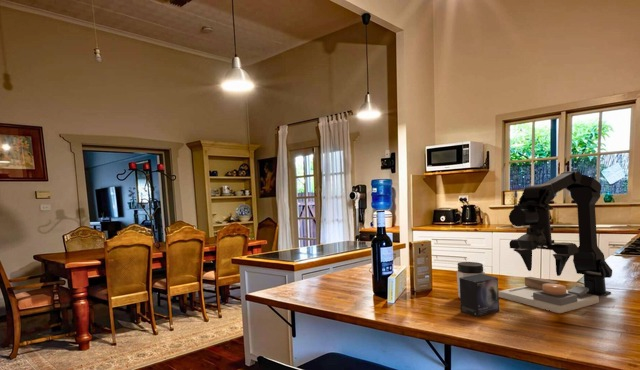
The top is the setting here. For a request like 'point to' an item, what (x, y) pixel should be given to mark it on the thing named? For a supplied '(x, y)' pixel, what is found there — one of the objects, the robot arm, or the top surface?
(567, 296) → the panel
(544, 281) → the slider bar
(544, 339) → the top surface
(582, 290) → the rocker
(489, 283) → the small box
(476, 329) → the top surface
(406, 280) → the top surface
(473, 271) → the jar
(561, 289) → the push button
